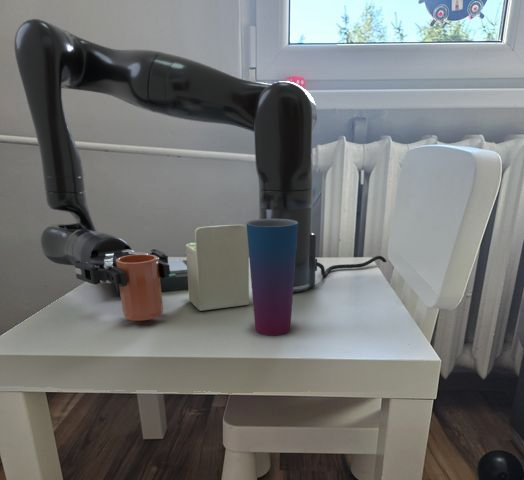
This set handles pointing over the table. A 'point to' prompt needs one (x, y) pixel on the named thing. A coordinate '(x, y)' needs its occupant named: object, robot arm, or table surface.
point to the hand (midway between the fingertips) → (145, 275)
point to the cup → (272, 272)
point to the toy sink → (218, 267)
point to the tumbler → (141, 287)
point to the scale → (173, 277)
